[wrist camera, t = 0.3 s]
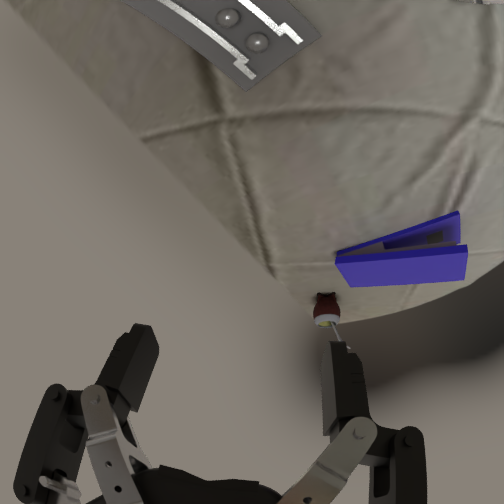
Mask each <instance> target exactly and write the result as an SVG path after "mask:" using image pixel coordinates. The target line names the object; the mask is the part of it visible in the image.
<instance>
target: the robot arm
mask: <svg viewBox="0 0 504 504" xmlns="http://www.w3.org/2000/svg"><path fill="white" fill-rule="evenodd" d="M158 355H159V345H158V343H157V340H156V337H155V335H154V332H153V330H152V327H151V326H149V325H143V324H137V323H135V324H134V325H133V326H132V328H131V330H130V332H129V333H126V332H125V333H124V334H123V335H122V336H121V337H120V338H118V339H117V341H116V343H115V345H114V347H113V350H112V351H111V353H110V356H109V357H108V359H107V361H106V363H105V365H104V367H103V369H102V371H101V374H100V375H99V377H98V380H97V381H96V383H95V384H94V385H90V386H88V387H87V388H85V389H84V390H82V391H80V390H79V391H78V390H77V391H76V390H67V389H66V388H65V387H64V386H62V385H61V384H53V385H51V386H50V387H49V388H48V389H47V390H46V392H45V394H44V397H43V399H42V401H41V404H40V406H39V408H38V411H37V413H36V416H35V418H34V421H33V424H32V426H31V429H30V431H29V434H28V437H27V440H26V443H25V446H24V449H23V452H22V455H21V458H20V461H19V465H18V469H17V472H16V476H15V480H14V484H13V489H14V492H15V495H16V497H17V498H18V499H19V500H20V501H21V502H22V503H24V504H81V503H80V500H79V498H80V497H81V492H80V491H79V489H78V487H77V485H76V483H75V482H76V478H77V475H78V470H79V467H80V463H81V460H82V456H83V453H84V449H85V446H86V447H87V450H88V454H89V457H90V460H91V464H92V467H93V470H94V472H95V475H96V478H97V481H98V483H99V486H100V489H101V491H102V494H103V495H101V496H99V497H97V498H95V499H94V500H92V501H90V502H88V503H86V504H330V503H331V502H332V501H333V500H334V498H335V497H336V496H337V495H338V494H339V493H340V491H341V490H342V489H343V487H344V486H345V485H346V483H347V479H348V478H349V476H350V475H351V473H352V472H353V470H354V469H355V468H356V467H357V465H358V464H362V465H367V466H370V483H369V504H427V472H426V457H425V446H424V438H423V434H422V432H421V431H420V430H419V429H418V428H416V427H413V426H407V427H404V428H402V429H401V430H395V429H390V428H385V427H381V426H379V425H377V424H376V423H375V422H374V421H373V420H372V418H371V416H370V413H369V406H368V398H367V392H366V385H365V379H364V375H363V367H362V362H361V361H360V359H359V358H358V356H357V355H356V353H348V352H347V346H346V342H344V341H328V343H327V346H326V349H325V352H324V355H323V358H322V362H321V387H322V410H323V436H330V444H329V445H328V446H327V448H326V449H325V450H324V451H323V453H322V454H321V455H320V456H319V457H318V458H317V460H316V461H315V462H314V463H313V464H312V465H311V466H310V468H309V469H308V470H307V471H306V472H305V473H304V474H303V475H302V476H301V477H300V478H299V479H298V480H297V481H296V482H295V483H294V484H293V485H292V486H291V487H290V488H289V489H288V490H287V491H286V492H285V493H284V494H283V495H282V496H281V495H280V494H279V493H278V492H276V491H275V490H273V489H271V488H269V487H266V486H264V485H260V484H259V482H258V481H247V480H238V479H228V480H215V481H206V480H203V479H201V478H199V477H196V476H194V475H192V474H189V473H187V472H185V471H183V470H179V469H175V468H171V467H167V466H163V465H160V467H159V468H152V466H151V464H150V462H149V460H148V458H147V457H146V455H145V454H144V453H143V451H142V450H141V448H140V446H139V443H138V441H137V438H136V436H135V433H134V431H133V428H132V425H131V423H130V420H129V417H128V414H129V411H130V410H131V411H134V412H138V409H139V407H140V404H141V401H142V398H143V396H144V393H145V390H146V387H147V385H148V382H149V379H150V377H151V374H152V371H153V369H154V366H155V363H156V361H157V358H158ZM88 436H89V439H88Z"/></svg>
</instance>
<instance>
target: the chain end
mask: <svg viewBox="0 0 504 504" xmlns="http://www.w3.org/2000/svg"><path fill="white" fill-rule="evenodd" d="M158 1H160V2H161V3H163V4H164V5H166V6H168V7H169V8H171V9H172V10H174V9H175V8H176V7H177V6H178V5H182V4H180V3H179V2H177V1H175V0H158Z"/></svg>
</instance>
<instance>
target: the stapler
mask: <svg viewBox="0 0 504 504" xmlns="http://www.w3.org/2000/svg"><path fill="white" fill-rule="evenodd" d="M459 243H460V213H459V211H455V212H452V213H450V214H447V215H444V216H441V217H439V218H436V219H433V220H430V221H427V222H424V223H422V224H419V225H416V226H413V227H410V228H407V229H404V230H401V231H398V232H395V233H393V234H390V235H387V236H384V237H381V238H378V239H375V240H372V241H369V242H366V243H363V244H360V245H357V246H354V247H350V248H347V249H344V250H341V251H338V252H337V257H336V259H335V265H336V266H337V268H338V269H339V271H340V272H341V274H342V275H343V277H344V278H345V280H346V281H347V283H348V284H349V286H350V287H368V286H388V285H406V284H421V283H435V282H447V281H459V280H464V278H465V272H466V265H467V257H468V249H467V245H457V246H456V244H459Z"/></svg>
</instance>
